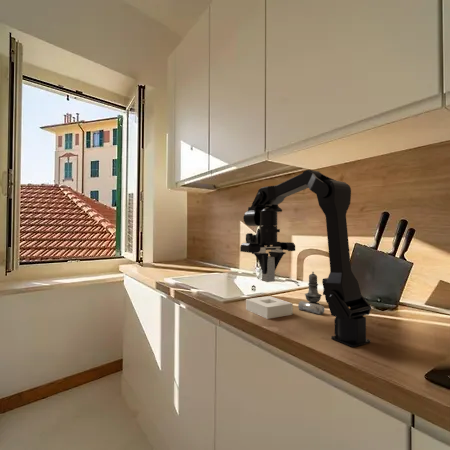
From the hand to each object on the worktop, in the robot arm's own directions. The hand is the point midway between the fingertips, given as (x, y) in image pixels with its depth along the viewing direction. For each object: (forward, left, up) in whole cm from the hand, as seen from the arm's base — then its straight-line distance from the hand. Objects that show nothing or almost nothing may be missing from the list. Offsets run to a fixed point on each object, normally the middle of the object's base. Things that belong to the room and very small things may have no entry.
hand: (268, 273), depth 97 cm
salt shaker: (0, -20, -13) cm, 24 cm away
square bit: (0, 0, -3) cm, 2 cm away
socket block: (0, 0, -13) cm, 13 cm away
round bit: (-6, -12, -10) cm, 17 cm away
